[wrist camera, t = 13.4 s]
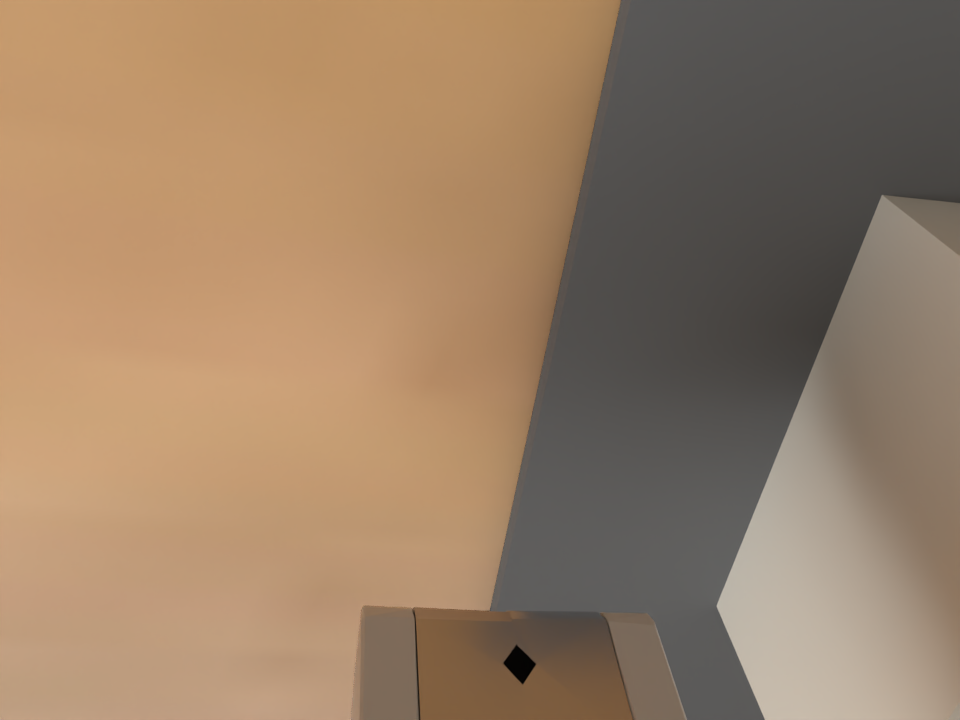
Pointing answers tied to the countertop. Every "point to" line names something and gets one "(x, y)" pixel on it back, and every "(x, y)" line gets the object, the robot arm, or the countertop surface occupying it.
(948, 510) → the tile
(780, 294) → the mat
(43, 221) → the countertop surface
